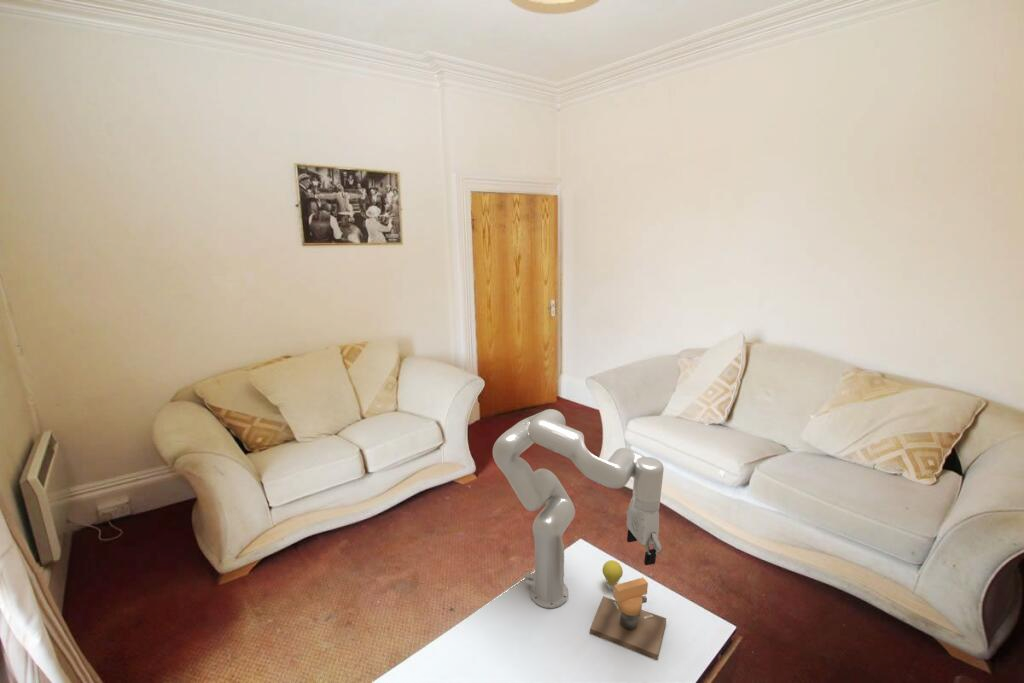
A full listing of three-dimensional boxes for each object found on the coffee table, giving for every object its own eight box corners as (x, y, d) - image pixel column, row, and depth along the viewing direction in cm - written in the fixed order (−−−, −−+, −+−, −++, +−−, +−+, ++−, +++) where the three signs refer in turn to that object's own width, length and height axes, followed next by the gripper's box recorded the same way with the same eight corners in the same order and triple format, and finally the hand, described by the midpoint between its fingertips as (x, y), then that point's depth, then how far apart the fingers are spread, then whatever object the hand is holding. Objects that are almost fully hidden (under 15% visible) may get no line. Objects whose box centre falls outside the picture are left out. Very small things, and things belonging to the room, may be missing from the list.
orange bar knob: (621, 619, 137) (622, 597, 135) (609, 601, 143) (610, 579, 141) (652, 610, 140) (654, 588, 138) (639, 593, 147) (640, 571, 145)
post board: (589, 633, 142) (590, 612, 140) (602, 601, 154) (603, 580, 152) (657, 660, 133) (659, 637, 131) (665, 623, 145) (667, 602, 143)
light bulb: (621, 596, 156) (623, 571, 153) (601, 593, 157) (602, 568, 155) (621, 581, 162) (622, 557, 160) (601, 579, 164) (602, 554, 161)
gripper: (619, 485, 139) (614, 535, 143) (650, 521, 122) (644, 576, 127) (641, 482, 141) (636, 531, 145) (675, 517, 124) (669, 571, 129)
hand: (640, 552), depth 136 cm, fingers open, 9 cm apart
